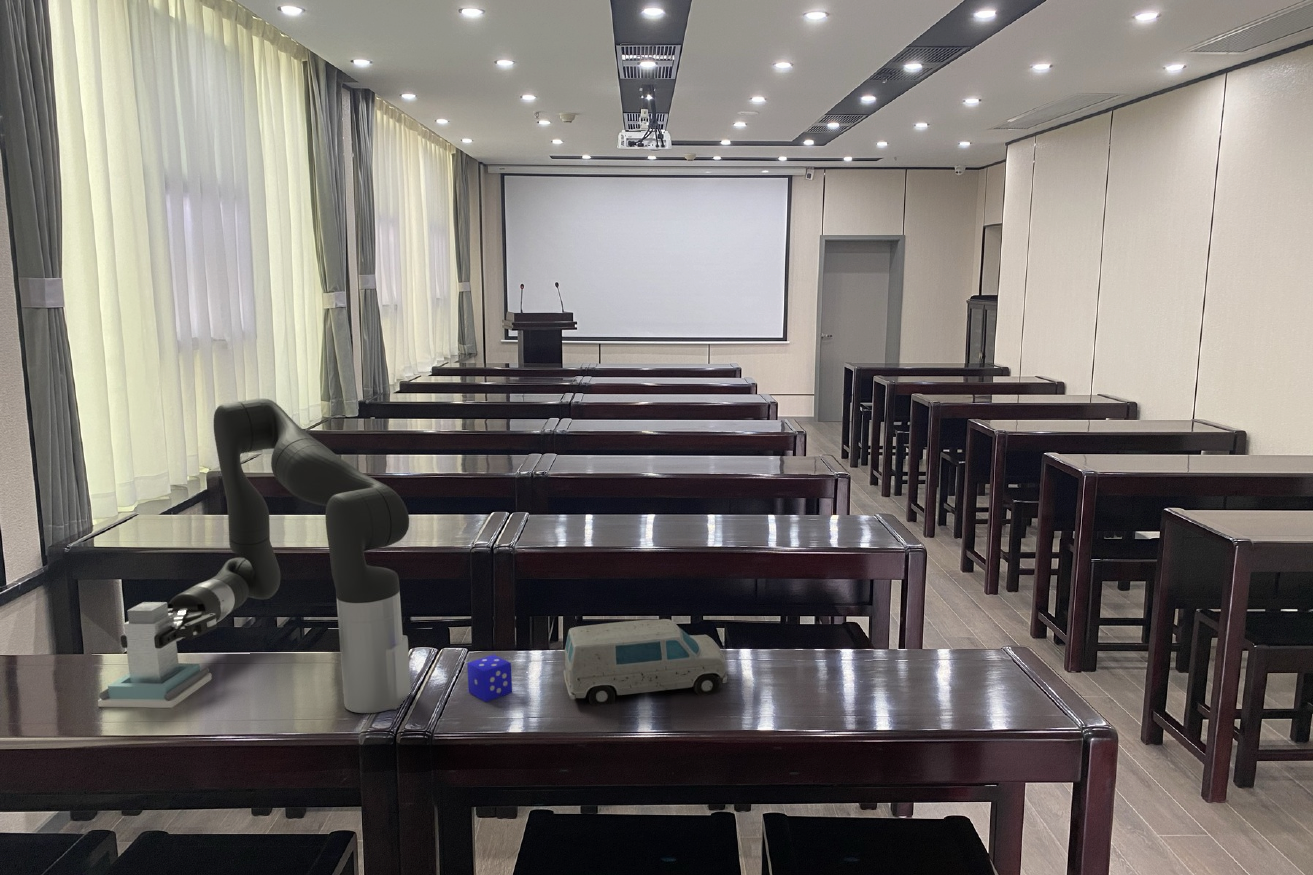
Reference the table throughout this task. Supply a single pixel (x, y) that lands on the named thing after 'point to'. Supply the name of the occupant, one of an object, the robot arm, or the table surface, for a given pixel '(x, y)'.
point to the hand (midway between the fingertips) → (140, 642)
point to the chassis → (155, 689)
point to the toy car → (639, 660)
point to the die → (489, 677)
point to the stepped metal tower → (150, 644)
